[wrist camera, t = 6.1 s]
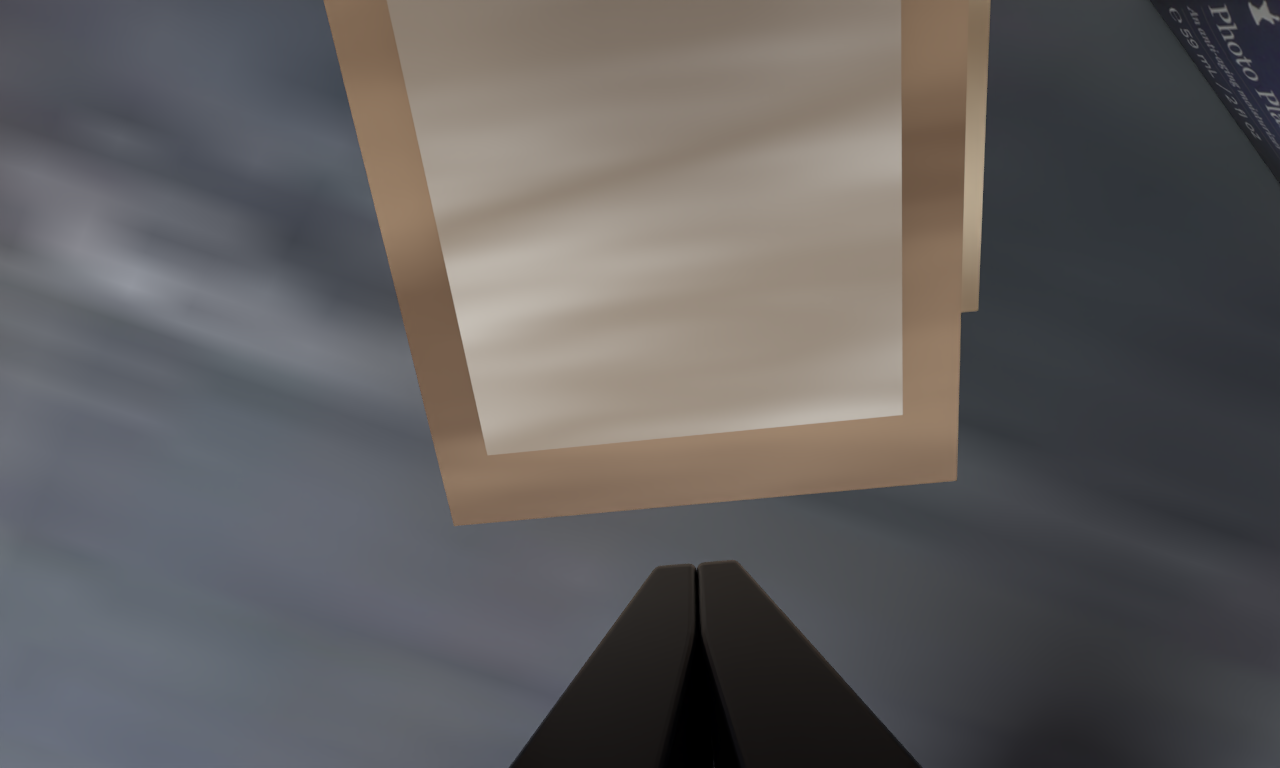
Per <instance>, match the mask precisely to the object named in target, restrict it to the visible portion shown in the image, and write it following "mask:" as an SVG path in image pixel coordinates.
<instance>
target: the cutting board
mask: <svg viewBox="0 0 1280 768" xmlns="http://www.w3.org/2000/svg"><path fill="white" fill-rule="evenodd" d="M990 1H991V0H969V14H968V54H967V94H966V134H965V174H964V214H963V254H962V295H961V312H971V311H978V302H979V277H980V252H981V227H982V202H983V177H984V152H985V127H986V102H987V77H988V52H989V26H990Z"/></svg>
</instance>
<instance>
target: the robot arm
mask: <svg viewBox="0 0 1280 768" xmlns="http://www.w3.org/2000/svg"><path fill="white" fill-rule="evenodd" d="M509 768H922V766H921V765H920V764H919V763H918V762H917V761H916V760H915V759H914V758H913V756H912V755H911V754H910V753H909V752H908V751H907V750H906V749H905V748H904V746H903V745H902V744H901V743H900V742H899V741H898V740H897V739H896V737H895V736H894V735H893V734H892V733H891V732H890V731H889V730H888V729H887V727H886V726H885V725H884V724H883V723H882V722H881V721H880V720H879V719H878V717H877V716H876V715H875V714H874V713H873V712H872V711H871V710H870V708H869V707H868V706H867V705H866V704H865V703H864V702H863V701H862V700H861V698H860V697H859V696H858V695H857V694H856V693H855V692H854V691H853V690H852V688H851V687H850V686H849V685H848V684H847V683H846V682H845V681H844V679H843V678H842V677H841V676H840V675H839V674H838V673H837V672H836V671H835V669H834V668H833V667H832V666H831V665H830V664H829V663H828V662H827V661H826V659H825V658H824V657H823V656H822V655H821V654H820V653H819V652H818V650H817V649H816V648H815V647H814V646H813V645H812V644H811V643H810V642H809V640H808V639H807V638H806V637H805V636H804V635H803V634H802V633H801V631H800V630H799V629H798V628H797V627H796V626H795V625H794V624H793V623H792V621H791V620H790V619H789V618H788V617H787V616H786V615H785V614H784V613H783V611H782V610H781V609H780V608H779V607H778V606H777V605H776V604H775V602H774V601H773V600H772V599H771V598H770V597H769V596H768V595H767V594H766V592H765V591H764V590H763V589H762V588H761V587H760V586H759V585H758V584H757V582H756V581H755V580H754V579H753V578H752V577H751V576H750V575H749V573H748V572H747V571H746V570H745V569H744V568H743V567H742V566H741V565H740V564H739V563H738V562H737V561H735V560H727V561H715V562H704V563H701V564H700V565H699V566H698V568H697V570H696V568H695V566H694V565H692V564H678V565H666V566H658V567H656V568H655V569H654V570H653V571H652V573H651V574H650V575H649V577H648V578H647V579H646V581H645V582H644V584H643V585H642V586H641V588H640V589H639V590H638V592H637V593H636V595H635V596H634V597H633V599H632V600H631V601H630V603H629V604H628V605H627V607H626V608H625V610H624V611H623V612H622V614H621V615H620V616H619V618H618V619H617V621H616V622H615V623H614V625H613V626H612V627H611V629H610V630H609V631H608V633H607V634H606V636H605V637H604V638H603V640H602V641H601V642H600V644H599V645H598V647H597V648H596V649H595V651H594V652H593V653H592V655H591V656H590V657H589V659H588V660H587V662H586V663H585V664H584V666H583V667H582V668H581V670H580V671H579V673H578V674H577V675H576V677H575V678H574V679H573V681H572V682H571V683H570V685H569V686H568V688H567V689H566V690H565V692H564V693H563V694H562V696H561V697H560V699H559V700H558V701H557V703H556V704H555V705H554V707H553V708H552V710H551V711H550V712H549V714H548V715H547V716H546V718H545V719H544V720H543V722H542V723H541V725H540V726H539V727H538V729H537V730H536V731H535V733H534V734H533V736H532V737H531V738H530V740H529V741H528V742H527V744H526V745H525V746H524V748H523V749H522V751H521V752H520V753H519V755H518V756H517V757H516V759H515V760H514V762H513V763H512V764H511V766H510V767H509Z"/></svg>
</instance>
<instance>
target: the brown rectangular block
mask: <svg viewBox="0 0 1280 768" xmlns="http://www.w3.org/2000/svg"><path fill="white" fill-rule="evenodd" d="M324 4H325V8H326V12H327V16H328V20H329V24H330V28H331V32H332V36H333V40H334V44H335V48H336V52H337V56H338V60H339V64H340V68H341V72H342V76H343V81H344V85H345V89H346V93H347V97H348V101H349V105H350V109H351V113H352V117H353V121H354V125H355V129H356V133H357V137H358V141H359V145H360V149H361V153H362V157H363V161H364V165H365V169H366V173H367V177H368V181H369V185H370V189H371V193H372V197H373V201H374V205H375V209H376V213H377V217H378V221H379V225H380V230H381V234H382V238H383V242H384V246H385V250H386V254H387V258H388V262H389V266H390V270H391V274H392V278H393V282H394V286H395V290H396V294H397V298H398V302H399V306H400V310H401V314H402V318H403V322H404V326H405V330H406V334H407V338H408V342H409V346H410V350H411V354H412V358H413V362H414V366H415V370H416V374H417V379H418V383H419V387H420V391H421V395H422V399H423V403H424V407H425V411H426V415H427V419H428V423H429V427H430V431H431V435H432V439H433V443H434V447H435V451H436V455H437V459H438V463H439V467H440V471H441V475H442V479H443V483H444V487H445V491H446V495H447V499H448V503H449V507H450V511H451V515H452V519H453V523H454V526H459V525H470V524H481V523H492V522H503V521H514V520H525V519H537V518H548V517H559V516H570V515H581V514H592V513H603V512H614V511H625V510H637V509H648V508H659V507H670V506H681V505H692V504H703V503H714V502H725V501H737V500H748V499H759V498H770V497H781V496H792V495H803V494H814V493H825V492H837V491H848V490H859V489H870V488H881V487H892V486H903V485H914V484H925V483H937V482H948V481H957V455H958V415H959V375H960V335H961V295H962V254H963V214H964V174H965V134H966V94H967V54H968V14H969V0H324Z"/></svg>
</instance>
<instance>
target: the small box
mask: <svg viewBox="0 0 1280 768" xmlns="http://www.w3.org/2000/svg"><path fill="white" fill-rule="evenodd" d="M1151 2H1152V3H1153V5H1154V6H1155V7H1156V9H1157V10H1158V12H1159V13H1160V14H1161V16H1162V17H1163V19H1164V20H1165V21H1166V23H1167V24H1168V26H1169V27H1170V28H1171V30H1172V31H1173V33H1174V34H1175V35H1176V37H1177V38H1178V40H1179V41H1180V42H1181V44H1182V45H1183V47H1184V48H1185V50H1186V51H1187V53H1188V54H1189V56H1190V57H1191V58H1192V60H1193V61H1194V62H1195V64H1196V65H1197V67H1198V68H1199V70H1200V71H1201V73H1202V74H1203V75H1204V77H1205V78H1206V80H1207V81H1208V82H1209V84H1210V85H1211V87H1212V88H1213V90H1214V91H1215V92H1216V94H1217V95H1218V96H1219V98H1220V99H1221V101H1222V102H1223V103H1224V105H1225V106H1226V108H1227V109H1228V111H1229V112H1230V114H1231V115H1232V116H1233V118H1234V119H1235V120H1236V122H1237V124H1238V125H1239V127H1240V128H1241V129H1242V130H1243V131H1244V133H1245V134H1246V135H1247V137H1248V138H1249V140H1250V141H1251V143H1252V144H1253V146H1254V147H1255V149H1256V150H1257V152H1258V153H1259V154H1260V156H1261V157H1262V159H1263V160H1264V162H1265V163H1266V164H1267V166H1268V167H1269V168H1270V170H1271V171H1272V172H1273V174H1274V176H1275V177H1276V178H1277V180H1278V181H1279V183H1280V0H1151Z"/></svg>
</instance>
